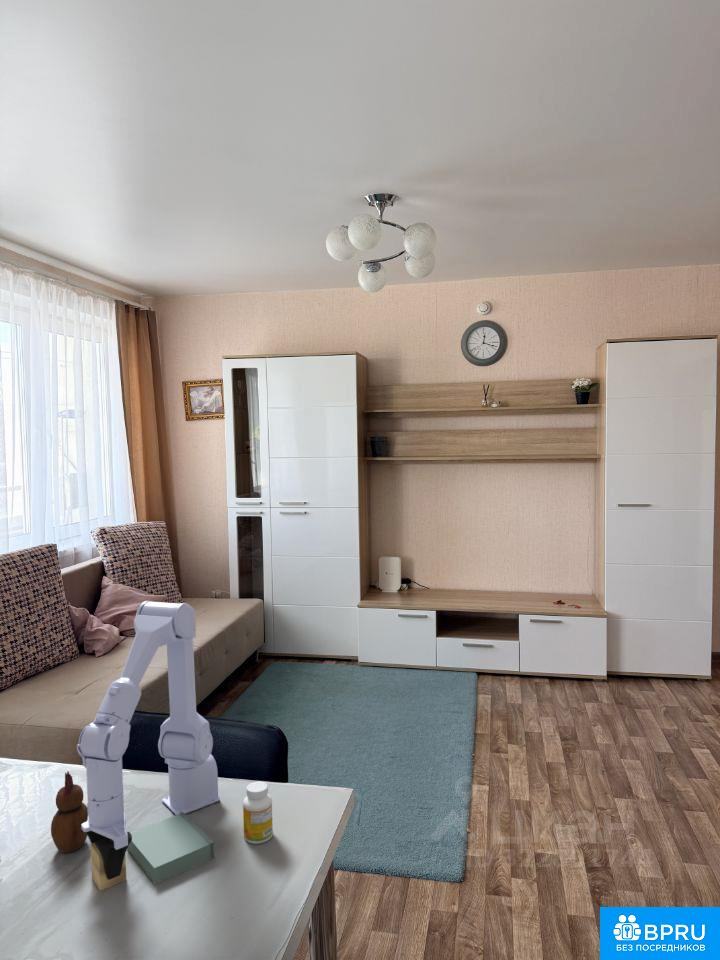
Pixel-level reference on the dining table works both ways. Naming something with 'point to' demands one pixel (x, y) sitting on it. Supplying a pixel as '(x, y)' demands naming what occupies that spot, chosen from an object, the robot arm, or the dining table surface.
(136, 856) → the green flat slab
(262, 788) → the supplement bottle
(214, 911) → the dining table surface
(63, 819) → the wooden figurine
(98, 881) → the block
